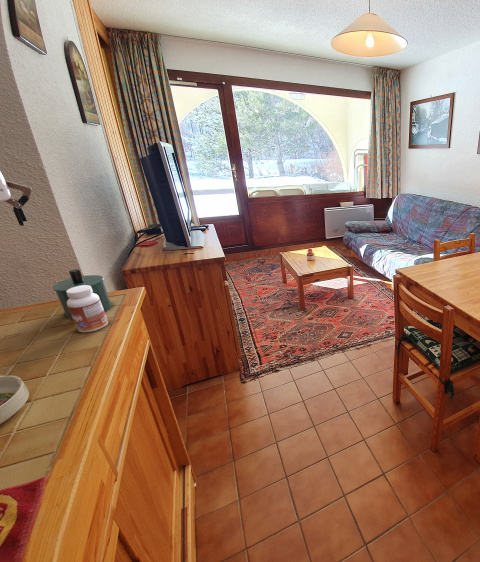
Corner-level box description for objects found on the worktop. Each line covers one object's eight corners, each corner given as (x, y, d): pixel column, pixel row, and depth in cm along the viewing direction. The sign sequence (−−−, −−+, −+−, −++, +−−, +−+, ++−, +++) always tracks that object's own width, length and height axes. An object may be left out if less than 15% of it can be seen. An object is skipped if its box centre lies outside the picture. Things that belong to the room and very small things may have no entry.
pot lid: (48, 297, 80) (40, 280, 78) (60, 282, 88) (54, 267, 86) (100, 289, 85) (94, 273, 83) (107, 276, 93) (102, 261, 91)
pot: (59, 326, 81) (46, 298, 78) (74, 303, 93) (63, 277, 90) (106, 317, 86) (96, 290, 82) (115, 296, 98) (106, 272, 94)
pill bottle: (73, 328, 80) (57, 290, 76) (102, 318, 85) (88, 281, 81) (84, 335, 78) (67, 296, 73) (113, 324, 83) (99, 287, 78)
